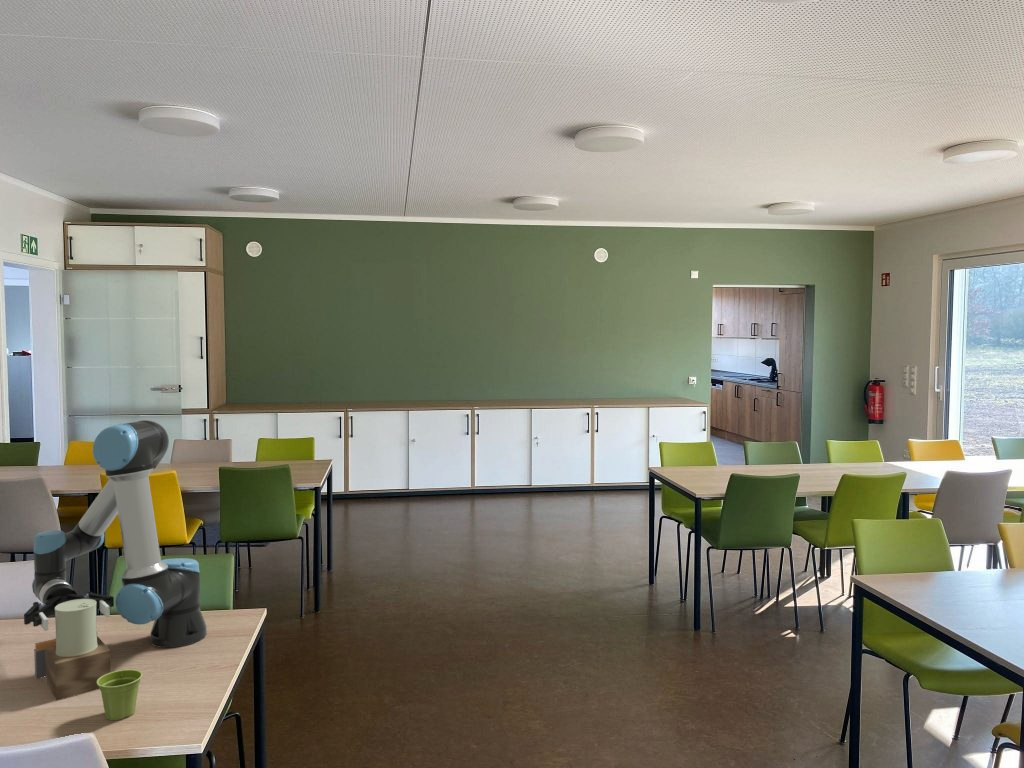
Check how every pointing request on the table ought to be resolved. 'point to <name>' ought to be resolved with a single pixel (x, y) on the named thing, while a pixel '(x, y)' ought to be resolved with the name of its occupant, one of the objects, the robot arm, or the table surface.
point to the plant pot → (119, 692)
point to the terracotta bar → (45, 645)
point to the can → (76, 627)
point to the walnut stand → (76, 671)
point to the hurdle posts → (40, 663)
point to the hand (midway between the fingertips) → (78, 618)
